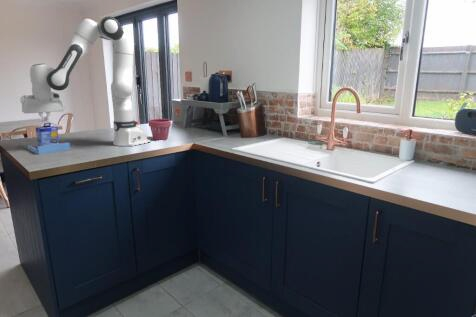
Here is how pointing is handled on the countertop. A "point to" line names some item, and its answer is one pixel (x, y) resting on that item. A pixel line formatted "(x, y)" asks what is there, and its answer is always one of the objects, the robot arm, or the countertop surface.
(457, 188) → the countertop surface
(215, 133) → the countertop surface
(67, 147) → the light blue tray
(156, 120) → the plant pot
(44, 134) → the ink cartridge box
